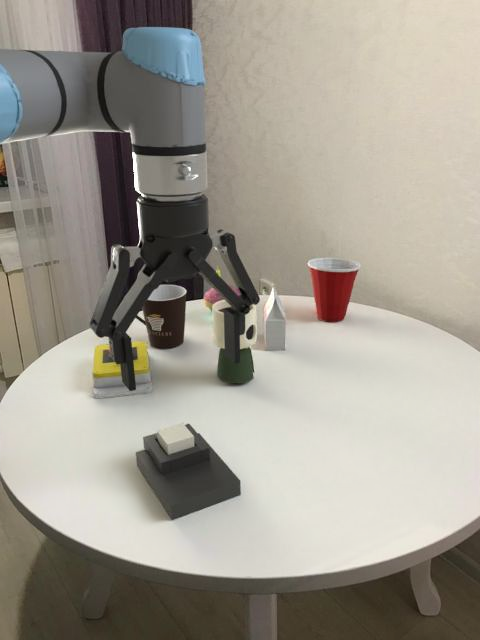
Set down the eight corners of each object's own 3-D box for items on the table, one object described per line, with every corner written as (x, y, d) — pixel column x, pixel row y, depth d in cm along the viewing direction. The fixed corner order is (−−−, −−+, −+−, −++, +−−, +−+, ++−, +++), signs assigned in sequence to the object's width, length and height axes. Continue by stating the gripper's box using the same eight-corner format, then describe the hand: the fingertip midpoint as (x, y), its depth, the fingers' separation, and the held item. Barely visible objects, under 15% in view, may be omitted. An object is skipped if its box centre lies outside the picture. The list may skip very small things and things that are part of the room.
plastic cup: (363, 312, 126) (367, 257, 121) (349, 330, 117) (353, 272, 112) (315, 304, 130) (317, 251, 125) (298, 321, 121) (299, 265, 116)
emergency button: (146, 331, 106) (150, 368, 93) (148, 352, 108) (152, 392, 95) (93, 335, 104) (89, 374, 91) (96, 357, 106) (93, 398, 93)
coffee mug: (198, 341, 112) (196, 292, 108) (162, 356, 107) (158, 304, 102) (161, 325, 120) (157, 278, 115) (125, 337, 114) (120, 289, 110)
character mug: (252, 395, 94) (252, 320, 88) (208, 393, 94) (205, 318, 89) (260, 364, 103) (260, 295, 98) (220, 362, 104) (218, 293, 99)
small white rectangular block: (157, 441, 76) (156, 430, 75) (183, 434, 77) (182, 422, 77) (168, 456, 73) (167, 444, 72) (194, 447, 75) (194, 436, 74)
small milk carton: (283, 335, 115) (283, 286, 111) (285, 350, 109) (286, 299, 105) (264, 335, 115) (264, 286, 111) (265, 350, 109) (265, 299, 104)
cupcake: (230, 330, 117) (229, 272, 112) (195, 322, 121) (192, 266, 116) (252, 316, 124) (252, 261, 119) (219, 309, 127) (217, 255, 122)
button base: (136, 465, 77) (133, 439, 76) (199, 445, 81) (197, 420, 80) (171, 520, 68) (169, 493, 66) (240, 495, 72) (240, 468, 70)
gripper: (61, 214, 54) (89, 413, 63) (290, 188, 65) (286, 360, 74) (42, 199, 59) (71, 384, 68) (256, 178, 71) (256, 338, 80)
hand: (183, 372), depth 71 cm, fingers open, 13 cm apart
